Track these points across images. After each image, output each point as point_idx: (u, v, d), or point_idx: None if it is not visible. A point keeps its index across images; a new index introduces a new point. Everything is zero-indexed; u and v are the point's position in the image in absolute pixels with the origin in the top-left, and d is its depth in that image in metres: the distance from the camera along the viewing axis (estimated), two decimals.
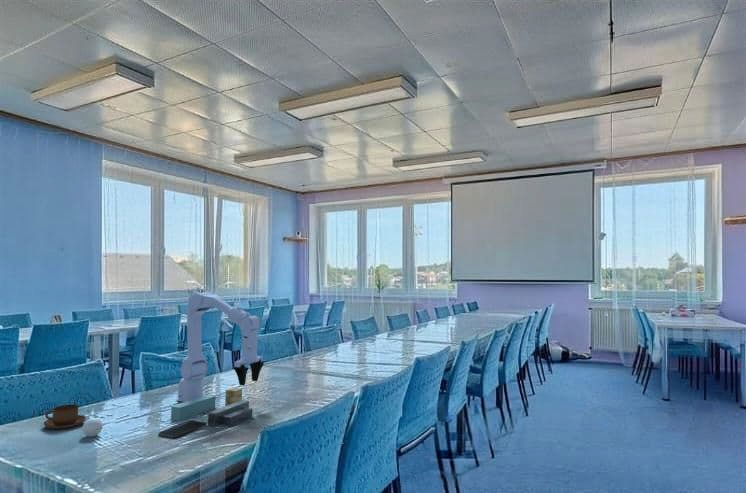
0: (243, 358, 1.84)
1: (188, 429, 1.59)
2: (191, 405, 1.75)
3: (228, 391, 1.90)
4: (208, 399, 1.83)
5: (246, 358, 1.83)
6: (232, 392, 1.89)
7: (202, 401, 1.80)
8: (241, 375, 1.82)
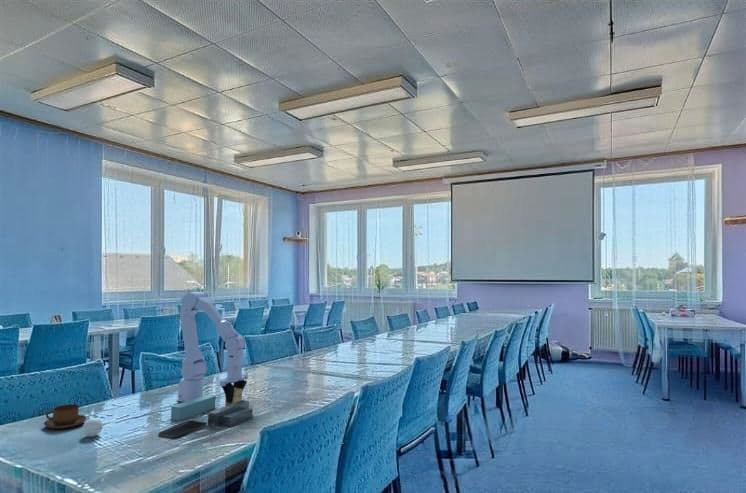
0: (228, 377, 1.89)
1: (188, 429, 1.59)
2: (191, 405, 1.75)
3: None
4: (208, 399, 1.83)
5: (231, 377, 1.89)
6: None
7: (202, 401, 1.80)
8: (228, 393, 1.89)
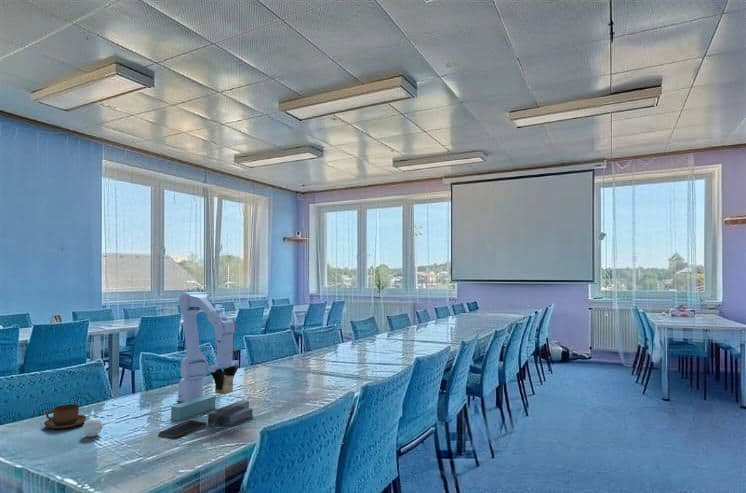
0: (218, 363, 1.81)
1: (188, 429, 1.59)
2: (191, 405, 1.75)
3: None
4: (208, 399, 1.83)
5: (221, 363, 1.80)
6: None
7: (202, 401, 1.80)
8: (218, 379, 1.80)
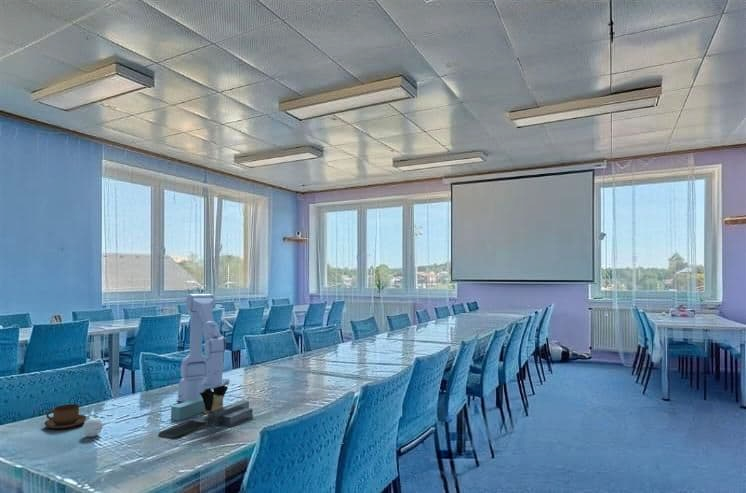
0: (207, 382, 1.73)
1: (188, 429, 1.59)
2: (191, 405, 1.75)
3: None
4: None
5: (210, 382, 1.73)
6: None
7: (202, 401, 1.80)
8: (207, 400, 1.73)
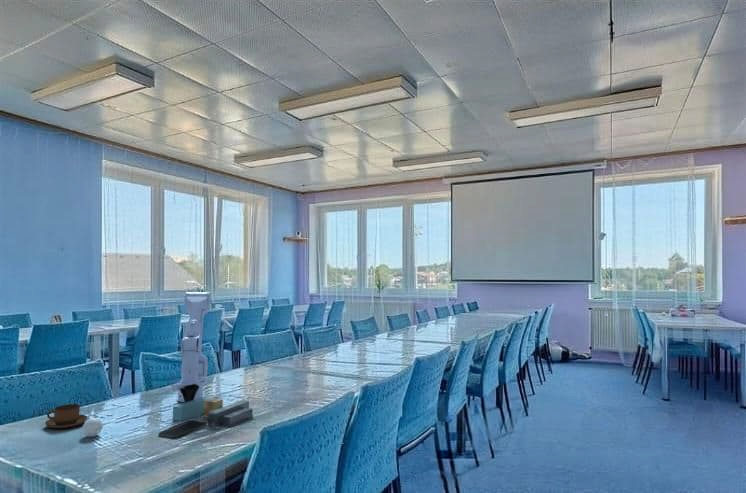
0: (182, 380, 1.78)
1: (188, 429, 1.59)
2: (193, 405, 1.74)
3: (207, 402, 1.73)
4: None
5: (185, 380, 1.77)
6: (211, 403, 1.73)
7: None
8: (187, 396, 1.79)
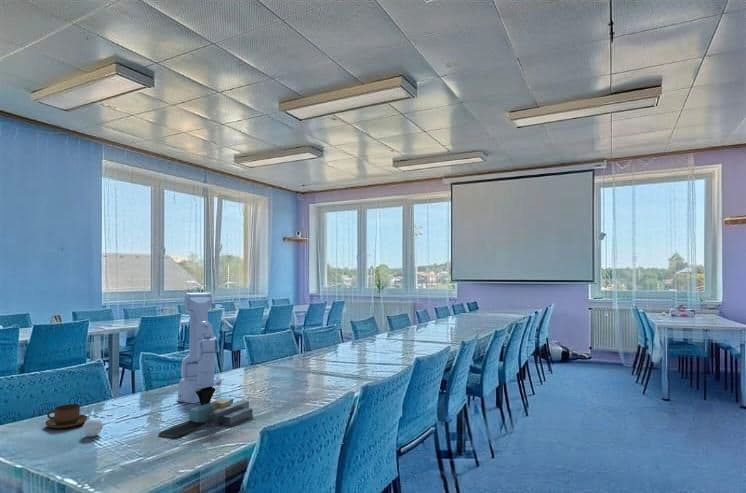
0: (199, 383, 1.75)
1: (188, 429, 1.59)
2: (209, 408, 1.71)
3: (215, 403, 1.72)
4: None
5: (202, 383, 1.74)
6: (219, 404, 1.71)
7: None
8: (203, 398, 1.76)
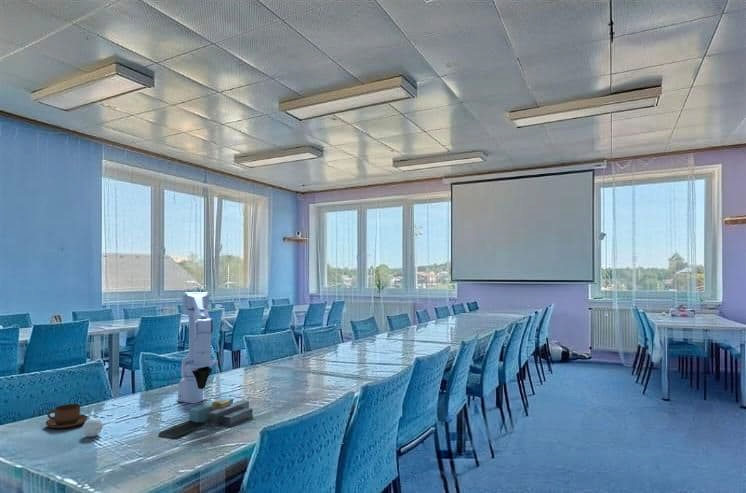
0: (195, 363, 1.76)
1: (188, 429, 1.59)
2: (209, 408, 1.71)
3: (215, 403, 1.72)
4: None
5: (198, 363, 1.76)
6: (219, 405, 1.71)
7: None
8: (200, 378, 1.77)
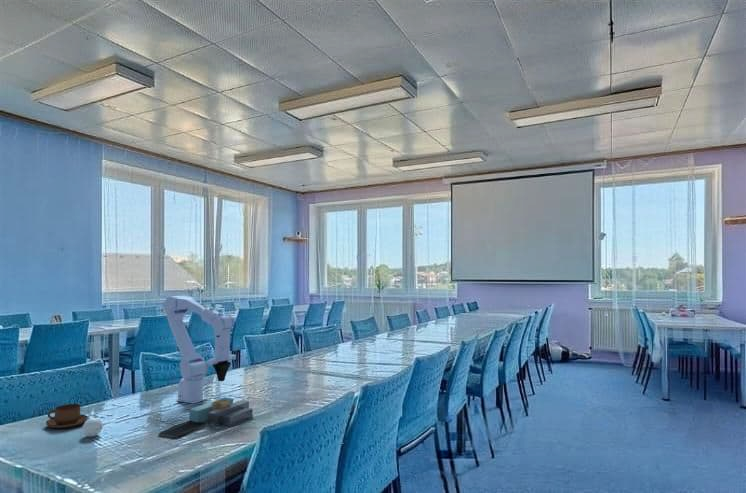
0: (216, 357, 1.89)
1: (188, 429, 1.59)
2: (209, 408, 1.71)
3: (215, 403, 1.72)
4: None
5: (218, 357, 1.88)
6: (219, 405, 1.71)
7: None
8: (220, 371, 1.90)
